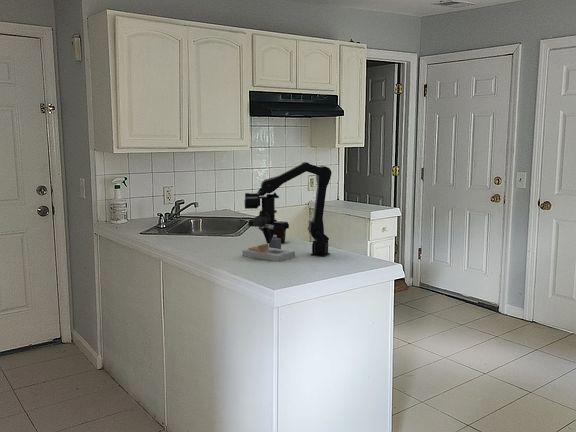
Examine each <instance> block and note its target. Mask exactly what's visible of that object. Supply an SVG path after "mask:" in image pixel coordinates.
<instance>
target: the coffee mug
mask: <svg viewBox="0 0 576 432" xmlns="http://www.w3.org/2000/svg"><path fill="white" fill-rule="evenodd" d="M286 234H287V229H283V230H276V231H275V233H274V235H277V238H281V245H283V244H285V243H286ZM272 238H273V237H272Z"/></svg>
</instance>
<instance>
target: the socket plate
mask: <svg viewBox="0 0 576 432" xmlns="http://www.w3.org/2000/svg"><path fill="white" fill-rule="evenodd" d="M268 247H269V246H268ZM241 251H242V252H241V253H242V256H243V257H248V258H253V259H259V260H266V261H270V262H271V261H272V262H277V263H278V262H283V261H286V260H289V259H292V258H295V257H296V251H295V250H289V249H283V248H281V249H277V248H270V247H269V249H266V250H262V251H256V250H249V249H248V248H246V249H243V250H241Z"/></svg>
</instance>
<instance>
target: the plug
mask: <svg viewBox="0 0 576 432" xmlns="http://www.w3.org/2000/svg"><path fill="white" fill-rule="evenodd" d="M268 247H270V248H277V249H282V244H281V238H277V235H273V238H272V240H271V242H270V243H269V244H268Z"/></svg>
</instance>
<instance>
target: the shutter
mask: <svg viewBox="0 0 576 432" xmlns="http://www.w3.org/2000/svg"><path fill="white" fill-rule="evenodd" d="M247 249H249V250H256V251H262V250H266V249H269V244H268V243H264V244H260V245H254V246H250V247H248V248H247Z"/></svg>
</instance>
